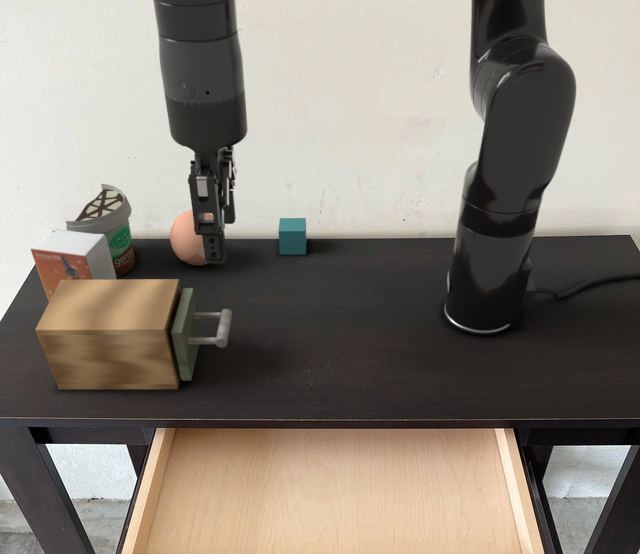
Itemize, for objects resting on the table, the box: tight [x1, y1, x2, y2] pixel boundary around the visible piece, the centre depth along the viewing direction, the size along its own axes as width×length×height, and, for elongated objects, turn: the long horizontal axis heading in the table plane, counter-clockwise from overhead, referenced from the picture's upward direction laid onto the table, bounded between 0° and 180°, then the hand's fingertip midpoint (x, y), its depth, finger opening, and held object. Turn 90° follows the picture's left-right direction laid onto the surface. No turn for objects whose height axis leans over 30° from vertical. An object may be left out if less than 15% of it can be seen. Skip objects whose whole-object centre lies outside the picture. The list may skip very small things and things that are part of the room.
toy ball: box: [169, 209, 214, 266], centre depth 97 cm, size 8×8×8 cm
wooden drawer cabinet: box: [35, 278, 183, 390], centre depth 80 cm, size 15×10×9 cm
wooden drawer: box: [167, 287, 233, 382], centre depth 80 cm, size 18×9×7 cm, turn 89°
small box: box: [30, 227, 118, 303], centre depth 88 cm, size 8×6×10 cm
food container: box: [65, 183, 136, 278], centre depth 96 cm, size 12×6×10 cm, turn 168°
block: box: [278, 217, 307, 256], centre depth 101 cm, size 4×4×4 cm
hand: (221, 241), depth 73 cm, fingers open, 8 cm apart
